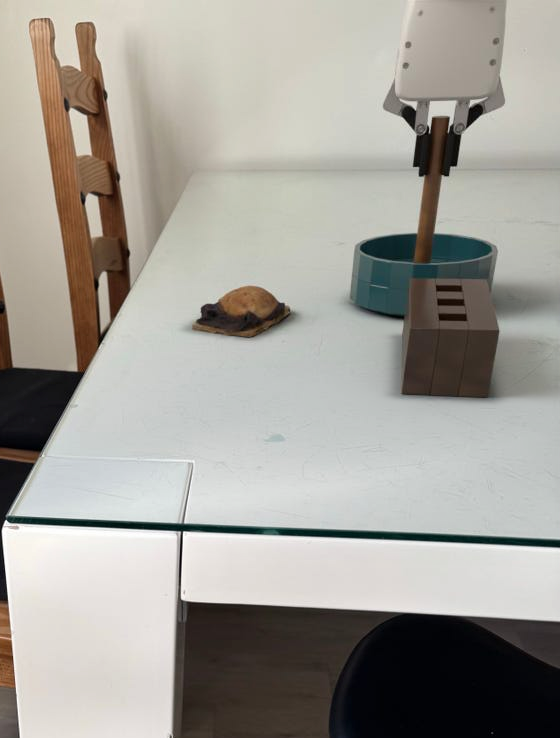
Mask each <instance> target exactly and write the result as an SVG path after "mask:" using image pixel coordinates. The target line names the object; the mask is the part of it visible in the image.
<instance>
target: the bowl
mask: <svg viewBox="0 0 560 738" xmlns="http://www.w3.org/2000/svg"><path fill="white" fill-rule="evenodd" d="M416 239H417V232H408V233H407V232H405V233H391V234H385V235H379V236H374V237H370V238H367V239H366V238H365V239H362V240H361V241H359V242H357V243H356V244H355V245H354V249H353V250H354V251H353V259H352V260H353V261H352V269H351V280H350V291H349V299H350V300H351V301H352V302H353V303H354V304H355V305H357V306H360V307H362V308H364V309H367V310H371V311H373V312H377V313H379V314H382V315H383V314H384V315H389V316H395V317H402V318H404V316H405V309H406V301H407V293H408V285H409V279H410V278H427V279H487V283H488V287H489V291H490V295H492V288H493V284H494V283H493V282H494V276H495V270H496V266H497V260H498V259H497V258H498V254H499V250H498V247H497V245H495V244H494V243H492V242H490V241H488V240H485V239H481V238H479V237H478V238H477V237H473V236H470V235H469V236H468V235H463V234H462V235H461V234H454V233H441V232H434V239H433V247H432V254H431V261H430V263H414V255H415V247H416Z"/></svg>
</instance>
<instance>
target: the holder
mask: <svg viewBox="0 0 560 738" xmlns="http://www.w3.org/2000/svg"><path fill="white" fill-rule="evenodd" d="M500 331H501V330H500V326H499V323H498V318H497V314H496V311H495V307H494V302H493V299H492V294H490V291H489V287H488V283H487V279H427V278H410V279H409V285H408V293H407V301H406V309H405V316H404V317H403V325H402V333H401V391H400V392H401V393H400V394H402V395H419V396H420V395H422V396H423V395H424V396H441V397H446V396H447V397H463V398H465V397H466V398H469V397H470V398H488V397H489V392H490V387H491V381H492V375H493V371H494V365H495V358H496V353H497V348H498V342H499V337H500Z"/></svg>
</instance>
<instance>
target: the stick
mask: <svg viewBox="0 0 560 738" xmlns="http://www.w3.org/2000/svg"><path fill="white" fill-rule="evenodd" d="M450 119H451V116H449V115H434V116H432V117H431V120H430V121H431V122H430V128H429V133H430V135H431V139H430V147H429V155H428V162H427V170H426V175H424V177H423V184H422V194H421V201H420V209H419V217H418V224H417V232H416V233H417V239H416V247H415V255H414V263H430V261H431V254H432V247H433V239H434V233H436V232H435V230H436V223H437V216H438V208H439V200H440V193H441V187H442V179H443V175H442V170H443V162H444V155H445V147H446V140H447V135H448V133H449V128H450Z"/></svg>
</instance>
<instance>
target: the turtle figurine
mask: <svg viewBox="0 0 560 738" xmlns="http://www.w3.org/2000/svg"><path fill="white" fill-rule="evenodd" d="M217 300H218V301H217V302H215V303H205V304H204V305H203V304H202V306H201V307H200V312H199V313H200V314H201V316H200V318H197V319H196V321H194V322H193V324H191V325H192V326H191V328H192V329H194V330H196V331H204V332H208V333H211V334H214V333H215V334H216V333H220V334H223V335H225V336H230V335H232V336H238V337H245V338H251V337H253V336H255V335H258V334H260V333H261V332H263V331H264V330H268V328H269V327H270V326H272V325H276V324H277V323H279V322H280V321H281V320H282V319H284V318H285V317H287V316H288V315H289V314H291V313H292V310H291V307H290V306H289V305H286V303H285V302H280V301H279V300H278V299H277V298H276V297H275V295H273V294H272V292H269V291H268V290H267V289H266V288H263V287H260V286H257V285H245V286H240V287H238V288H235V289H232V290H230V291H228V292H227V293H226V294H224V295H223V296H221V297H220V298H218V299H217Z"/></svg>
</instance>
